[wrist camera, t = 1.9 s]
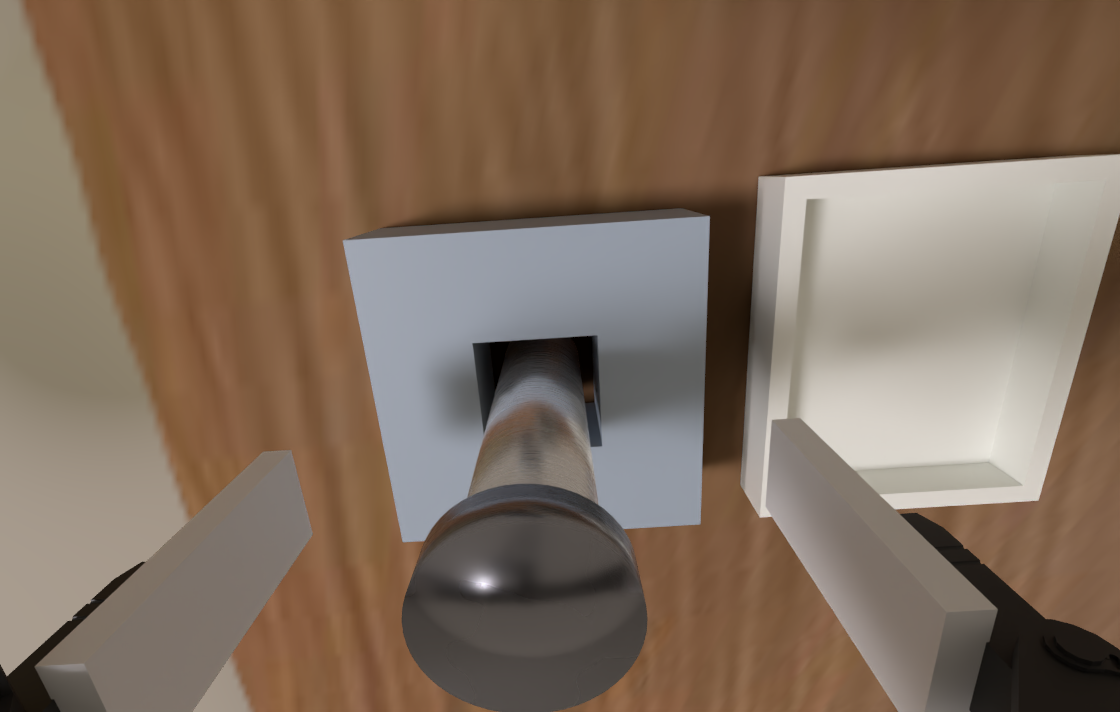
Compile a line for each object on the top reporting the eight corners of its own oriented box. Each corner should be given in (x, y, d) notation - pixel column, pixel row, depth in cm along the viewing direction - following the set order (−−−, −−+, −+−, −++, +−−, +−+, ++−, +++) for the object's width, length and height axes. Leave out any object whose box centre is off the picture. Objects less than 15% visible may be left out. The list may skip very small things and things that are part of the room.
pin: (486, 313, 22) (382, 532, 9) (590, 307, 22) (646, 516, 9) (497, 408, 24) (422, 719, 10) (594, 402, 23) (648, 707, 10)
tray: (758, 176, 20) (785, 177, 18) (1068, 155, 20) (1136, 153, 18) (740, 484, 25) (759, 517, 23) (992, 469, 25) (1038, 500, 22)
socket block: (381, 228, 21) (342, 240, 17) (681, 208, 21) (709, 215, 17) (425, 486, 25) (402, 542, 21) (677, 470, 25) (700, 524, 21)
